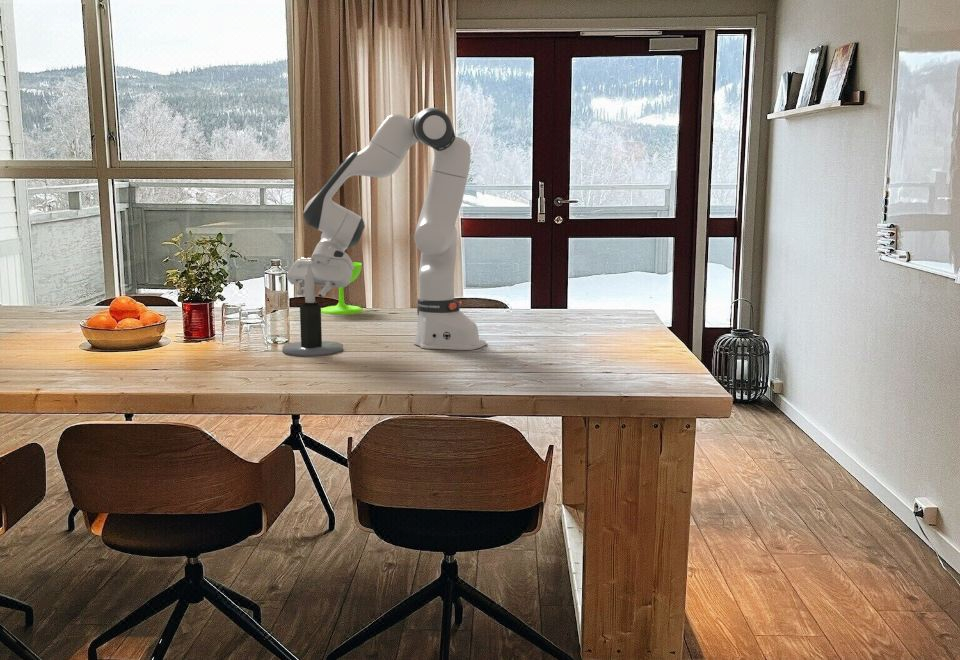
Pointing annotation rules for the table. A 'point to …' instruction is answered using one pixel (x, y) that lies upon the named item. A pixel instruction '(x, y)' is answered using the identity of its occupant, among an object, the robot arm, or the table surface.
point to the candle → (310, 314)
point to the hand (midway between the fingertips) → (310, 295)
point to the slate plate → (312, 349)
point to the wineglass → (341, 306)
